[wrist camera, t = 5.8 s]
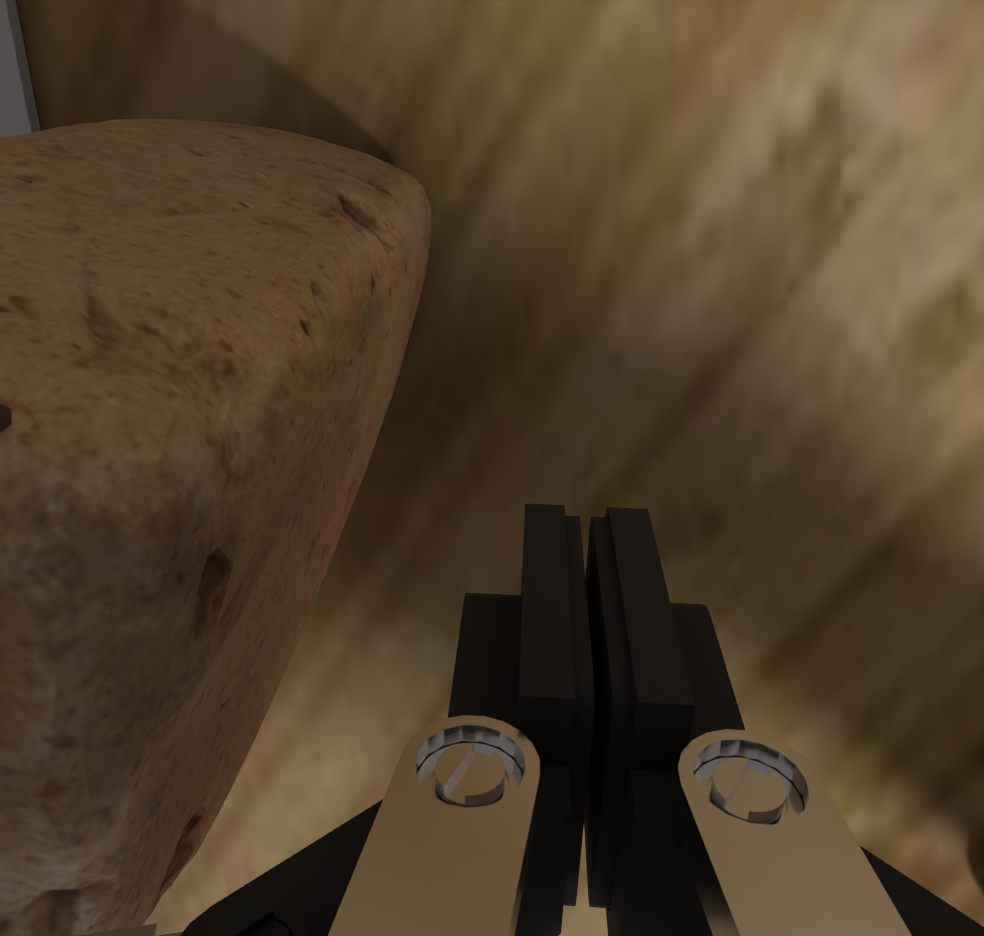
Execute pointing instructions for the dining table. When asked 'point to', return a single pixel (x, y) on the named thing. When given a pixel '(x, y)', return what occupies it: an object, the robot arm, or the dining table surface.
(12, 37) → the mat
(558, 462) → the dining table surface
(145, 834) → the block
